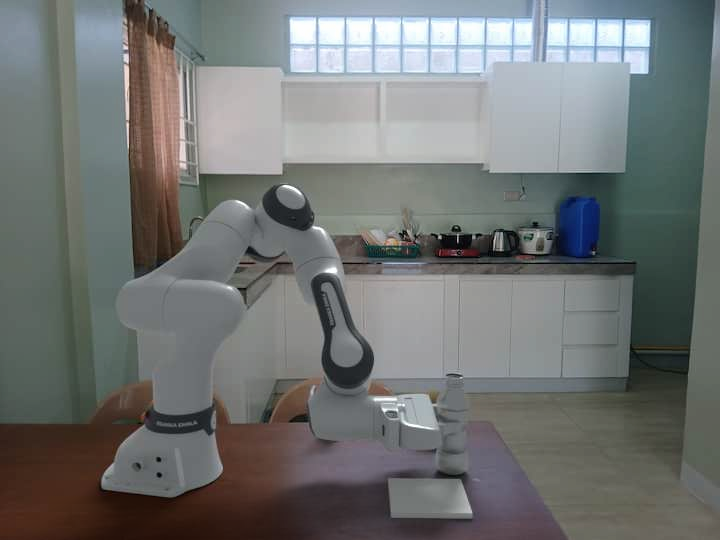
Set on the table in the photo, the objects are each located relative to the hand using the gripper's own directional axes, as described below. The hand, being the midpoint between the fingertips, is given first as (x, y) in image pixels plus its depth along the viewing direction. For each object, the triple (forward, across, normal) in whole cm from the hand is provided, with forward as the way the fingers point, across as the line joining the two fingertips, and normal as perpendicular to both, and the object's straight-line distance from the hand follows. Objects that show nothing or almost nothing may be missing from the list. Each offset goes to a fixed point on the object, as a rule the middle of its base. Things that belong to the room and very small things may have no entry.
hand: (457, 419), depth 115 cm
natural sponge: (-2, -19, -11) cm, 22 cm away
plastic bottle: (-1, 0, -11) cm, 11 cm away
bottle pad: (-7, +11, -11) cm, 17 cm away
